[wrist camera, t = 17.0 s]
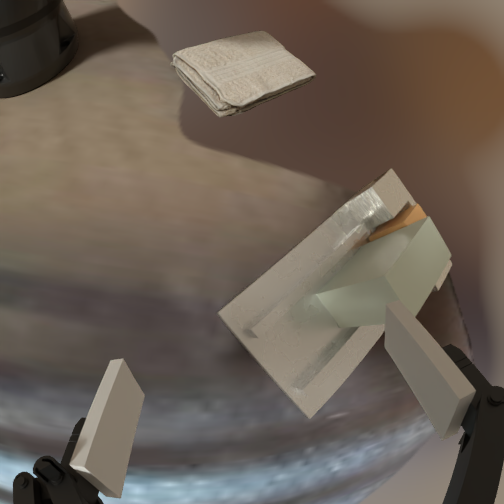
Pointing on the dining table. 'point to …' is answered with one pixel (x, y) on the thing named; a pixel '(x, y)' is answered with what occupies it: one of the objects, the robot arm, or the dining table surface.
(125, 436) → the robot arm
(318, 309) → the rail plate
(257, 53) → the washcloth
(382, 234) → the orange rectangular block
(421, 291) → the block
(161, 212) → the dining table surface
